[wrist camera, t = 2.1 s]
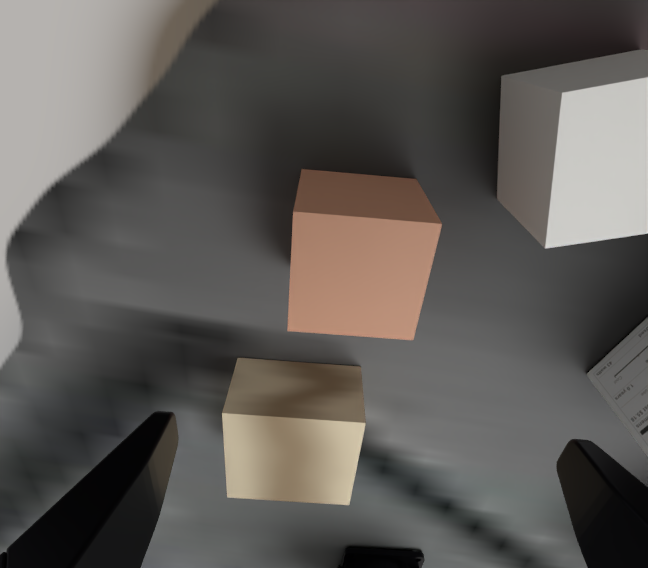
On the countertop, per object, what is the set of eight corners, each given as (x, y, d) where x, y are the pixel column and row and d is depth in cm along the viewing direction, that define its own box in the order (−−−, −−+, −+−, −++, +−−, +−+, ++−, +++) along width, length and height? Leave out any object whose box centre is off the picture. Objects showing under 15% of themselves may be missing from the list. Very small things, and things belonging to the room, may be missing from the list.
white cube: (638, 49, 16) (753, 57, 11) (614, 179, 18) (701, 225, 14) (500, 75, 16) (562, 92, 12) (496, 198, 19) (545, 248, 14)
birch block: (360, 366, 24) (365, 422, 20) (346, 446, 28) (348, 505, 24) (237, 357, 24) (221, 413, 20) (240, 438, 27) (227, 497, 24)
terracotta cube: (415, 178, 18) (442, 224, 14) (396, 276, 21) (413, 340, 17) (301, 168, 18) (293, 211, 14) (296, 268, 21) (287, 331, 16)
